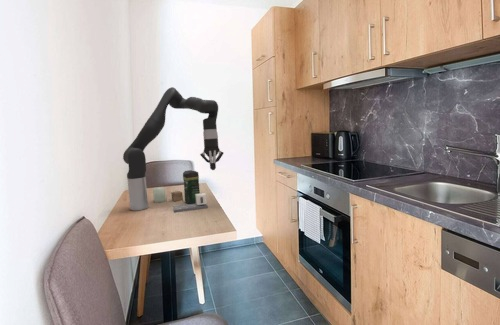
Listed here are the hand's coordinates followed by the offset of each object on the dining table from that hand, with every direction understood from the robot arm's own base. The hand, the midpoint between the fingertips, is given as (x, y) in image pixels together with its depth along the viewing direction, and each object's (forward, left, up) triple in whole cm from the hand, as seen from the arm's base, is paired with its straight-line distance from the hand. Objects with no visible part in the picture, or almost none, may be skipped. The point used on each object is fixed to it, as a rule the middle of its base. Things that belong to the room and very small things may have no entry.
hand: (213, 169), depth 154 cm
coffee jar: (-12, -11, -20) cm, 25 cm away
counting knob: (+1, -8, -18) cm, 19 cm away
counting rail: (+1, -14, -19) cm, 24 cm away
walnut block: (-22, -19, -19) cm, 35 cm away
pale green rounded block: (-25, -29, -19) cm, 43 cm away
